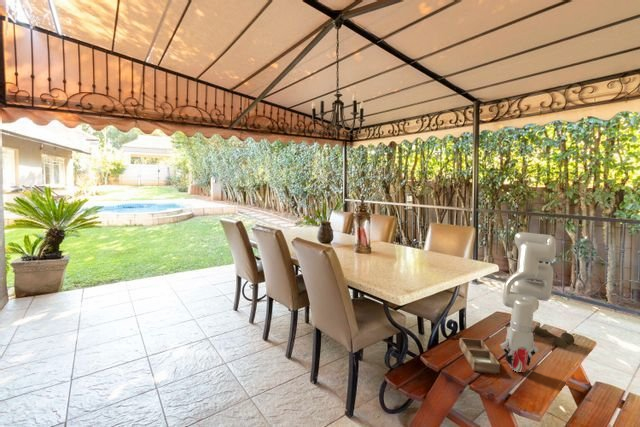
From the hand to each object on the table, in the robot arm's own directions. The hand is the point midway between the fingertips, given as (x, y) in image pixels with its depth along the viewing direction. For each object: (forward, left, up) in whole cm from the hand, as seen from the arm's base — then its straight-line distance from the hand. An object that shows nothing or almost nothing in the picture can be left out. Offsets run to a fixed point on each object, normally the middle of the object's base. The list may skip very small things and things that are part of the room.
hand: (517, 362), depth 141 cm
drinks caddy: (-6, -15, -3) cm, 17 cm away
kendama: (-29, +33, -4) cm, 44 cm away
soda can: (0, 0, -4) cm, 4 cm away
